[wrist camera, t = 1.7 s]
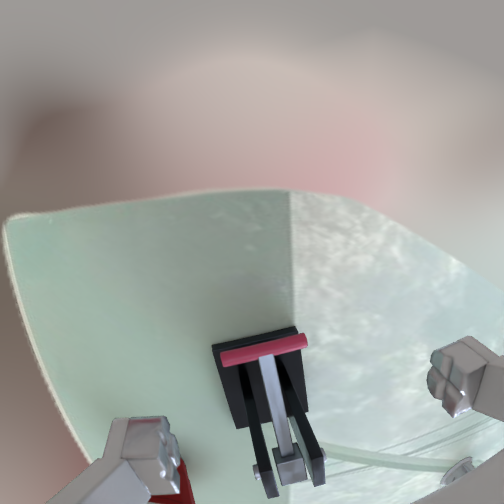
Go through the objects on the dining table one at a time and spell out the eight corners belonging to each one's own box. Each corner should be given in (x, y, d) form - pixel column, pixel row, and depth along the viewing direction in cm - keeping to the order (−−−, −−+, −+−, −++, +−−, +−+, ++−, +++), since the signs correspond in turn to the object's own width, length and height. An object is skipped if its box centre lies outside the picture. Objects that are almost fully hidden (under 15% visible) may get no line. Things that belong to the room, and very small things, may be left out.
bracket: (211, 345, 33) (220, 449, 19) (295, 325, 34) (348, 416, 20) (235, 422, 36) (252, 520, 22) (306, 405, 37) (346, 495, 23)
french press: (437, 489, 52) (482, 553, 28) (444, 468, 49) (498, 538, 25) (468, 470, 53) (514, 527, 29) (477, 446, 50) (532, 508, 26)
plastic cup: (196, 435, 36) (199, 510, 24) (207, 480, 38) (212, 545, 27) (116, 435, 34) (100, 505, 23) (137, 480, 37) (130, 543, 26)
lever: (219, 347, 23) (219, 358, 20) (300, 328, 23) (308, 337, 21) (256, 474, 23) (259, 491, 21) (321, 457, 24) (329, 473, 22)
